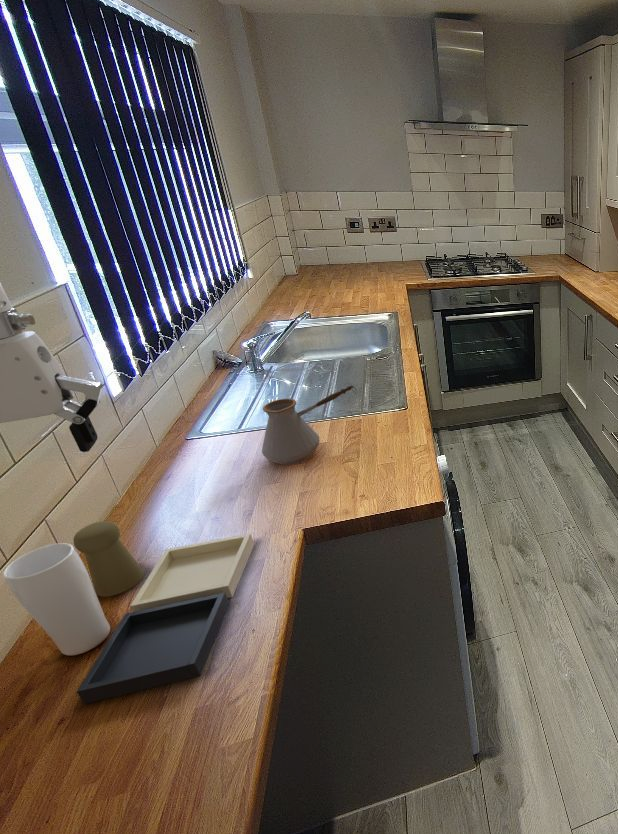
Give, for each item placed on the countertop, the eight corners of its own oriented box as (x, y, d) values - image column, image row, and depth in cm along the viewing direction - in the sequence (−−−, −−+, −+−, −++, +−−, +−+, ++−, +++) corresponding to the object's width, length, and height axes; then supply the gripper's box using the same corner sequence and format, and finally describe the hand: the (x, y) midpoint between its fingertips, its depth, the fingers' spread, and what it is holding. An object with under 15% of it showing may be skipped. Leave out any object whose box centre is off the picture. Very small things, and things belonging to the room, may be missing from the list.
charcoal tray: (84, 704, 66) (75, 691, 65) (131, 625, 77) (125, 613, 76) (200, 675, 69) (194, 663, 68) (229, 604, 80) (225, 592, 79)
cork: (123, 596, 82) (94, 541, 77) (85, 596, 82) (53, 541, 77) (153, 568, 87) (128, 515, 83) (118, 568, 87) (90, 515, 83)
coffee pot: (260, 473, 112) (239, 411, 106) (270, 447, 122) (252, 389, 116) (367, 454, 119) (353, 395, 113) (369, 431, 129) (356, 375, 122)
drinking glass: (116, 613, 79) (73, 534, 72) (120, 641, 74) (75, 559, 68) (54, 641, 74) (2, 559, 68) (55, 672, 70) (0, 588, 64)
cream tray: (135, 618, 78) (129, 606, 77) (170, 560, 89) (165, 549, 88) (232, 597, 81) (227, 585, 80) (254, 544, 92) (250, 533, 91)
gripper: (82, 311, 67) (133, 428, 74) (-112, 332, 60) (-36, 458, 67) (59, 328, 61) (116, 453, 68) (-161, 352, 54) (-71, 489, 61)
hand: (41, 456), depth 68 cm, fingers open, 9 cm apart
